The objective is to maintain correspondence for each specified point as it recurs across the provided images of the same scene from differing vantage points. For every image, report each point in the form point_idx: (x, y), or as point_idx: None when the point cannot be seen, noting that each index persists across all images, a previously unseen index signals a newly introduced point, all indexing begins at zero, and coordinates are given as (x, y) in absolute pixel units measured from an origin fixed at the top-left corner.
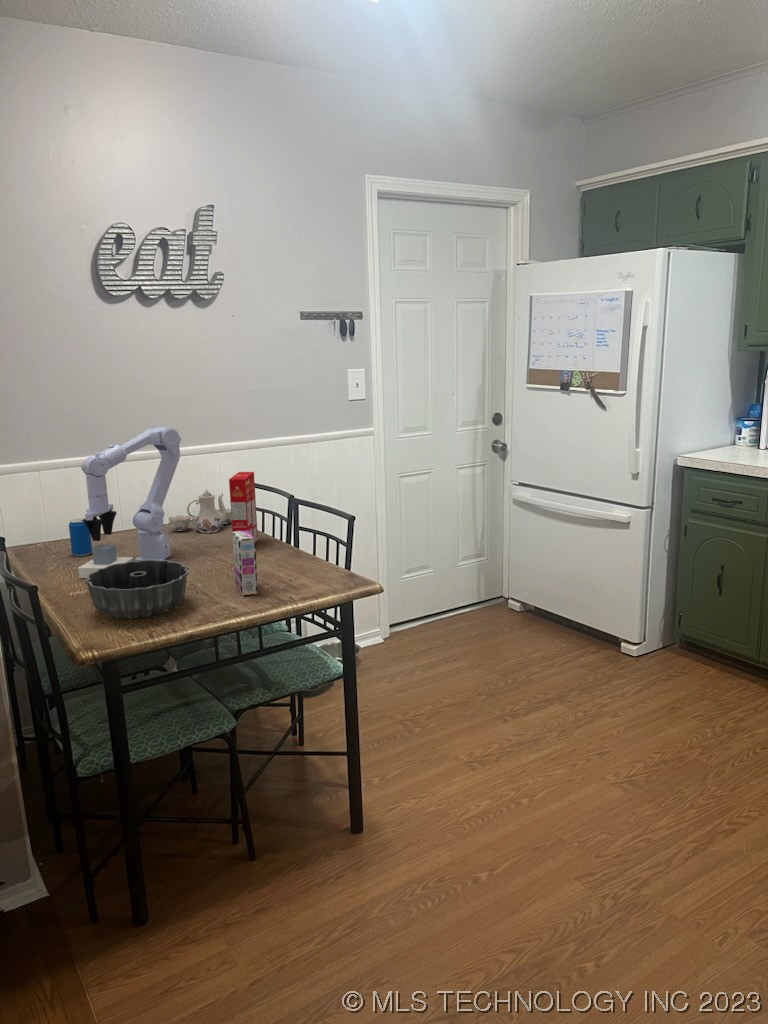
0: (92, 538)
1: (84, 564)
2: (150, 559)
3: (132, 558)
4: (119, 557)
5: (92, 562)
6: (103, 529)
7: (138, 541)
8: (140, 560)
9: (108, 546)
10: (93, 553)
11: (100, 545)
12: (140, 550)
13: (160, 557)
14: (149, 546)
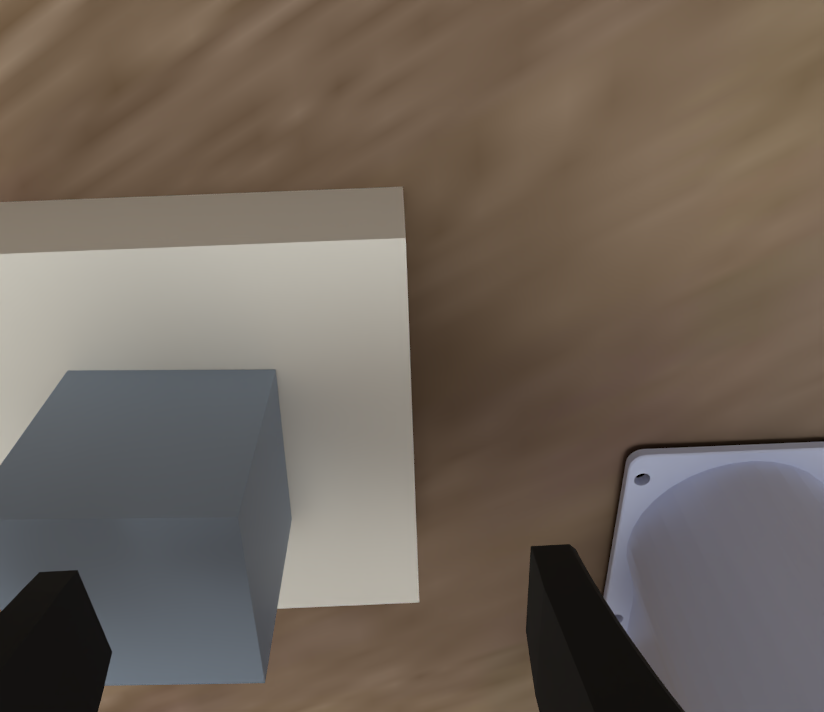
0: (7, 610)
1: (17, 261)
2: (622, 571)
3: (403, 596)
4: (401, 496)
5: (135, 315)
6: (553, 631)
7: (777, 615)
8: (621, 497)
9: (165, 649)
10: (5, 478)
11: (181, 543)
12: (689, 561)
13: (632, 640)
14: (670, 680)
